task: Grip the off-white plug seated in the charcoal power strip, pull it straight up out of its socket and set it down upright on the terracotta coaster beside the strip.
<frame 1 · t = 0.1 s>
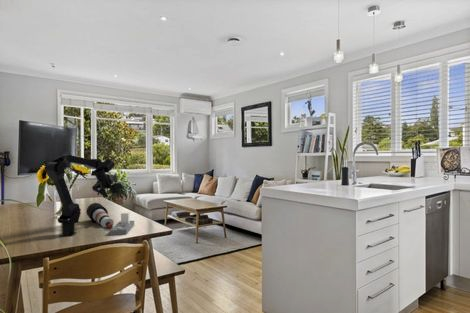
hand: (112, 197, 187), 15 cm above the table, tool tilted 35°, fingers open, 9 cm apart
cable: (102, 225, 179), on the table
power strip: (123, 231, 163), on the table
plug: (125, 227, 169), point 1 cm above the table, touching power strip
coaster: (133, 223, 181), on the table
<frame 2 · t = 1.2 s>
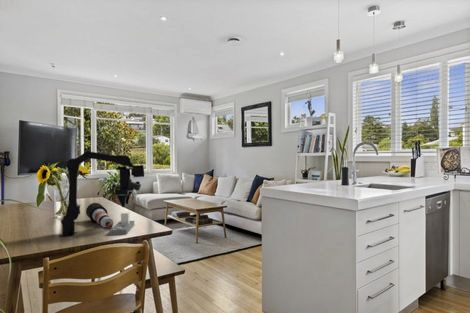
hand: (125, 205, 169), 13 cm above the table, tool pointing down, fingers open, 9 cm apart
nothing on the table moved.
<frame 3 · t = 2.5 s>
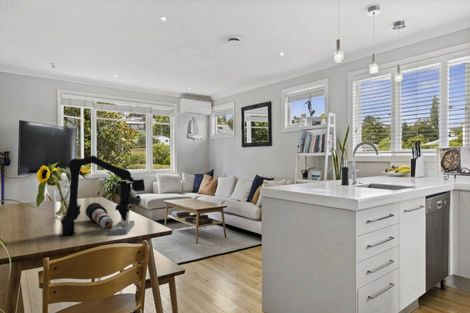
hand: (125, 219, 169), 5 cm above the table, tool pointing down, fingers closed on plug, 4 cm apart
plug: (125, 227, 169), point 1 cm above the table, touching gripper, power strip
everything else where it was.
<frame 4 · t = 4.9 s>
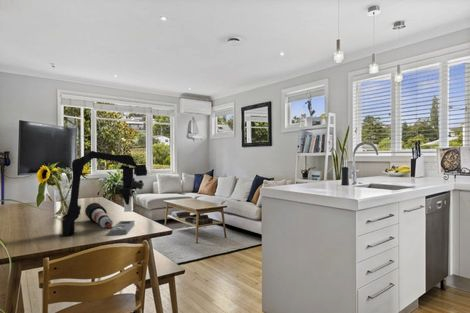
hand: (128, 203, 173), 13 cm above the table, tool pointing down, fingers closed on plug, 4 cm apart
plug: (128, 210, 173), point 9 cm above the table, touching gripper
everything else where it was.
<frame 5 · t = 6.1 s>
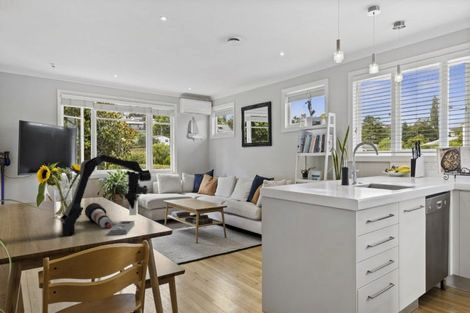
hand: (133, 208, 181), 9 cm above the table, tool pointing down, fingers closed on plug, 4 cm apart
plug: (133, 214, 181), point 5 cm above the table, touching gripper
everything else where it was.
when the fingers open (6 cm above the table, at t = 7.4 s): plug drops 2 cm, resting on coaster.
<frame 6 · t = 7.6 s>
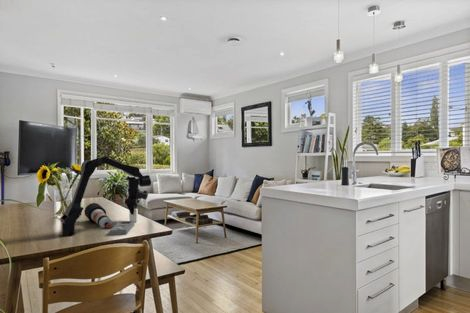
hand: (133, 213, 181), 6 cm above the table, tool pointing down, fingers open, 6 cm apart
plug: (133, 222, 181), point 1 cm above the table, touching coaster
everything else where it was.
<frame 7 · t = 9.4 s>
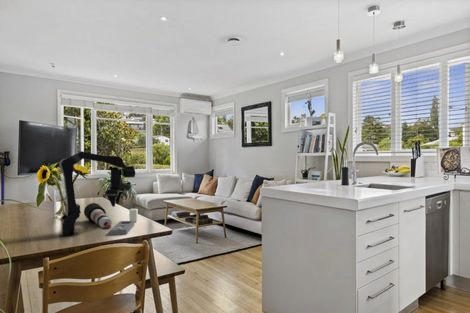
hand: (115, 205, 173), 13 cm above the table, tool pointing down, fingers open, 9 cm apart
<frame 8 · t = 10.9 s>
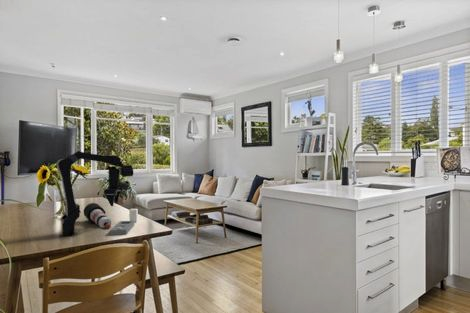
hand: (114, 204, 172), 13 cm above the table, tool pointing down, fingers open, 9 cm apart
at the end: plug 0.1 cm from the target spot, point 0.6 cm above the table; plug tilted 0°; the gripper is holding nothing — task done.
